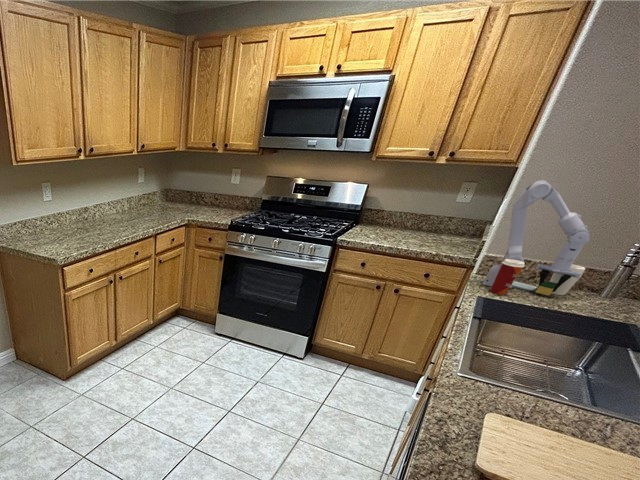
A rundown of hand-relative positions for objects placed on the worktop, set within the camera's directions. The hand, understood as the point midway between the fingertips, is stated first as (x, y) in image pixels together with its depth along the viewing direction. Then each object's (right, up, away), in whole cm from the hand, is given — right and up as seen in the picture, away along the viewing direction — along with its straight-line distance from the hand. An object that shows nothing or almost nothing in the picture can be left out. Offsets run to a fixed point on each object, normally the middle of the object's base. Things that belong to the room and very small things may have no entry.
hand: (546, 289), depth 181 cm
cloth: (-2, +4, +10) cm, 11 cm away
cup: (+9, -1, +5) cm, 10 cm away
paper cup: (-20, -1, +2) cm, 20 cm away
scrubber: (0, -1, +1) cm, 1 cm away
